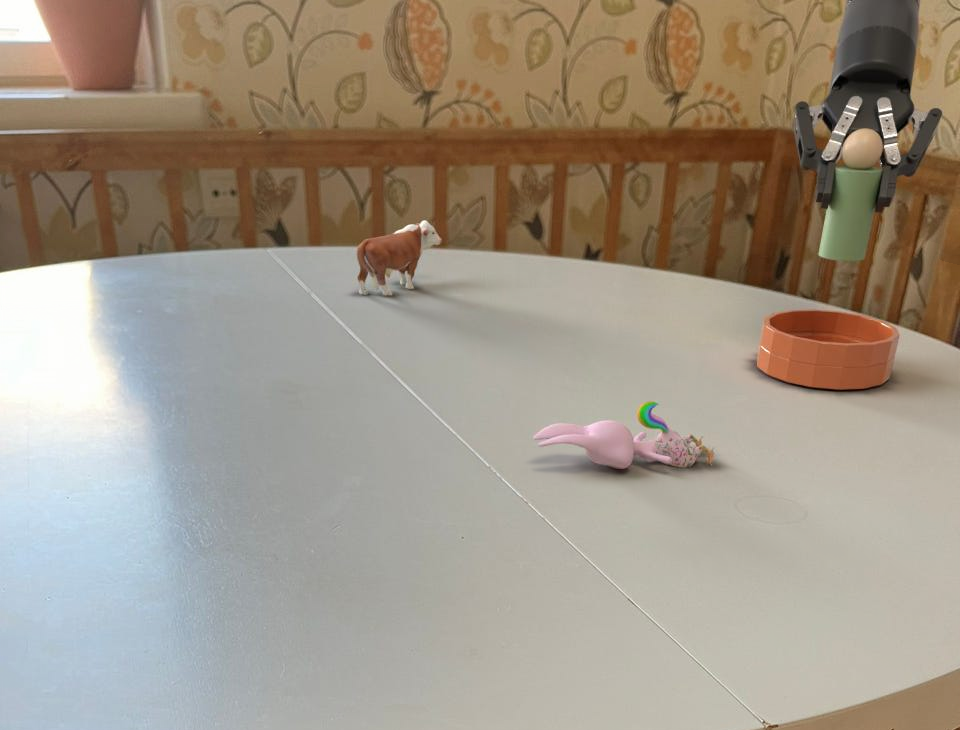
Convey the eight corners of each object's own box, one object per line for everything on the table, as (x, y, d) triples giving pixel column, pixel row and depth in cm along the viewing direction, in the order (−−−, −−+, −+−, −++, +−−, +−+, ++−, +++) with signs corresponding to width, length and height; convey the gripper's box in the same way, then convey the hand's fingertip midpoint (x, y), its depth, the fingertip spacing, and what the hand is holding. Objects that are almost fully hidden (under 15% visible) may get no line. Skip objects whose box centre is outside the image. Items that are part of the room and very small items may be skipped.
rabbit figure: (684, 463, 91) (521, 447, 86) (704, 396, 88) (535, 376, 83) (714, 492, 85) (541, 476, 81) (736, 422, 83) (558, 402, 78)
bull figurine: (446, 286, 138) (446, 220, 134) (370, 303, 130) (368, 234, 125) (423, 280, 141) (423, 215, 136) (347, 296, 132) (344, 228, 128)
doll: (851, 251, 105) (876, 126, 99) (872, 261, 102) (900, 131, 96) (810, 252, 105) (833, 125, 99) (830, 261, 101) (855, 131, 95)
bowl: (850, 354, 115) (859, 308, 113) (912, 392, 104) (924, 342, 102) (736, 357, 113) (744, 310, 111) (787, 397, 102) (797, 346, 100)
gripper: (805, 20, 100) (779, 174, 97) (963, 25, 97) (942, 184, 94) (795, 79, 107) (771, 224, 104) (942, 86, 104) (923, 235, 101)
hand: (853, 204), depth 99 cm, fingers closed on doll, 4 cm apart
